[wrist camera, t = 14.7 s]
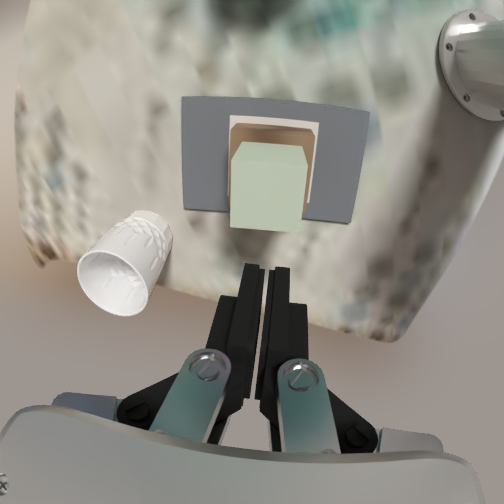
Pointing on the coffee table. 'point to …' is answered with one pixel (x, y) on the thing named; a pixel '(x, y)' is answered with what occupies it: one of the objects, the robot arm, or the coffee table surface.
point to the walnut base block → (273, 136)
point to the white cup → (126, 263)
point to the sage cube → (268, 187)
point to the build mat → (282, 114)
